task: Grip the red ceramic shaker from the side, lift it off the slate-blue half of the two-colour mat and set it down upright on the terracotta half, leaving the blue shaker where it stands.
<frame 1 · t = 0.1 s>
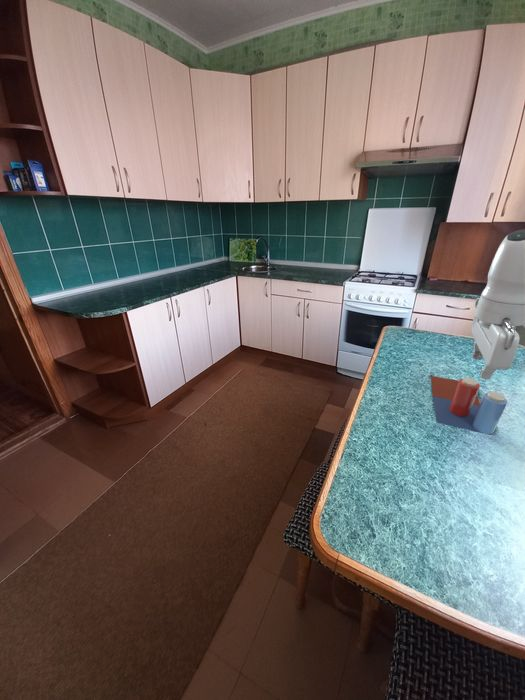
hand: (480, 367, 68), 22 cm above the table, tool pointing down, fingers open, 8 cm apart
blue shaker: (482, 427, 80), point 1 cm above the table, touching sorting mat
sorting mat: (455, 402, 91), on the table
travel mug: (486, 353, 120), on the table
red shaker: (459, 411, 87), point 1 cm above the table, touching sorting mat
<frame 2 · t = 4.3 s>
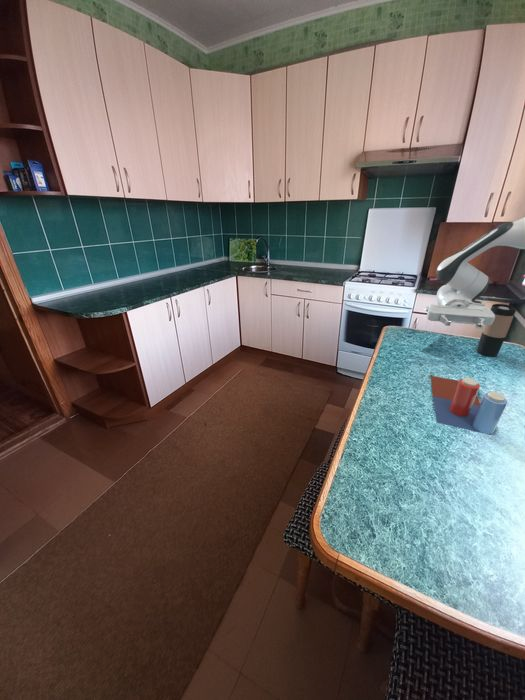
hand: (464, 325, 98), 19 cm above the table, tool horizontal, fingers open, 8 cm apart
nothing on the table moved.
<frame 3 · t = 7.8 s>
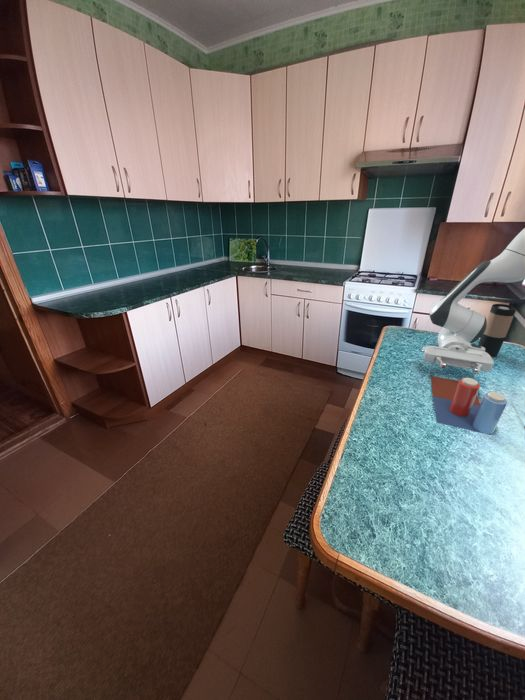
hand: (459, 369, 94), 8 cm above the table, tool horizontal, fingers open, 8 cm apart
nothing on the table moved.
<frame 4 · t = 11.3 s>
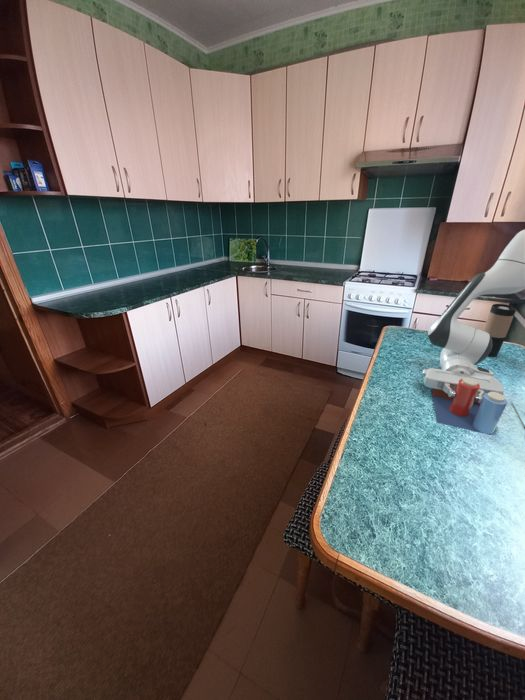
hand: (465, 398, 83), 6 cm above the table, tool horizontal, fingers closed on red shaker, 5 cm apart
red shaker: (458, 411, 87), point 1 cm above the table, touching gripper, sorting mat
everything else where it was.
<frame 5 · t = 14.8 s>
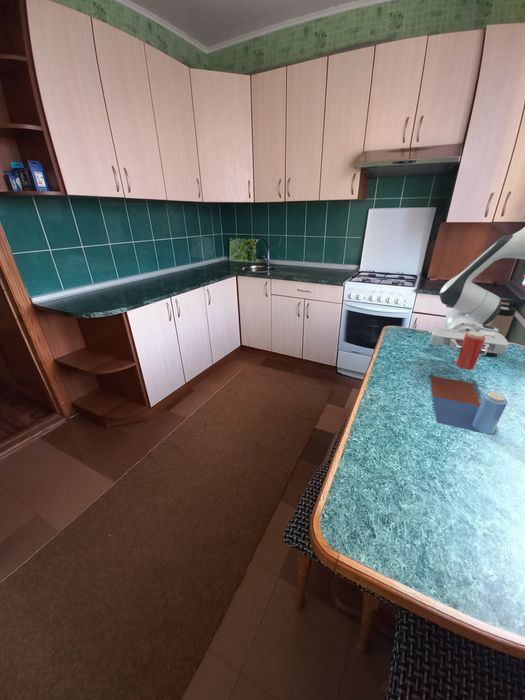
hand: (471, 351, 86), 17 cm above the table, tool horizontal, fingers closed on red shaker, 5 cm apart
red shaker: (464, 365, 89), point 11 cm above the table, touching gripper
everything else where it was.
when the fingers open (6 cm above the table, at t = 18.7 s): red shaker stays where it is, resting on sorting mat.
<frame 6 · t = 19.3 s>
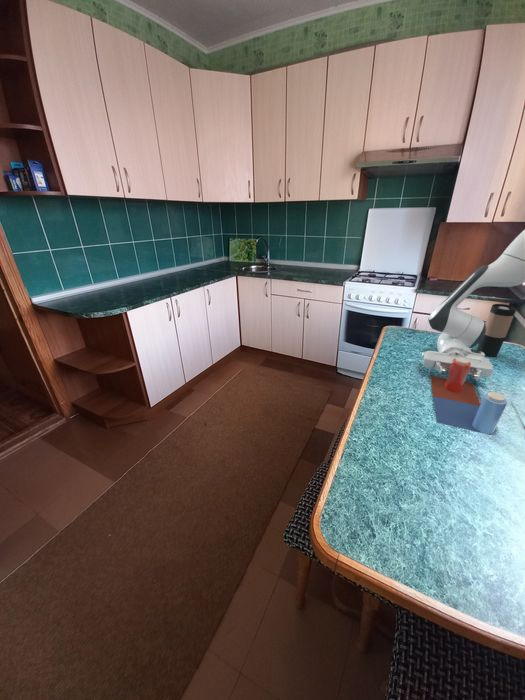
hand: (459, 375, 94), 6 cm above the table, tool horizontal, fingers open, 8 cm apart
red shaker: (452, 387, 97), point 1 cm above the table, touching sorting mat
everything else where it was.
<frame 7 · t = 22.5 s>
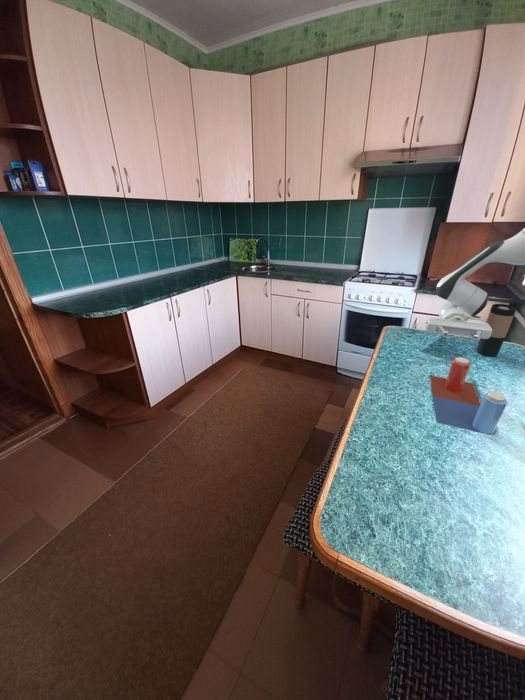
hand: (460, 336, 101), 14 cm above the table, tool horizontal, fingers open, 8 cm apart
nothing on the table moved.
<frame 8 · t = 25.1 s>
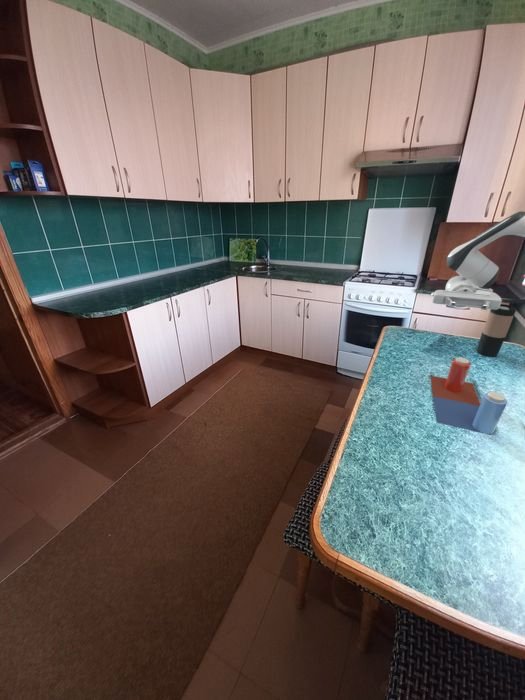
hand: (468, 306, 97), 25 cm above the table, tool horizontal, fingers open, 8 cm apart
nothing on the table moved.
at the end: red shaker inside the target area (0.6 cm from its centre), point 0.6 cm above the table; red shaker tilted 0°; blue shaker moved 0.0 cm from its start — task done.
